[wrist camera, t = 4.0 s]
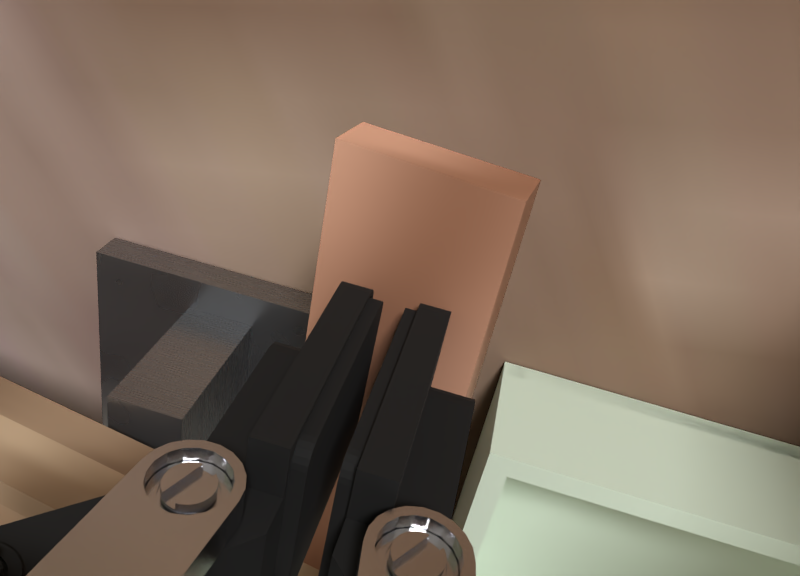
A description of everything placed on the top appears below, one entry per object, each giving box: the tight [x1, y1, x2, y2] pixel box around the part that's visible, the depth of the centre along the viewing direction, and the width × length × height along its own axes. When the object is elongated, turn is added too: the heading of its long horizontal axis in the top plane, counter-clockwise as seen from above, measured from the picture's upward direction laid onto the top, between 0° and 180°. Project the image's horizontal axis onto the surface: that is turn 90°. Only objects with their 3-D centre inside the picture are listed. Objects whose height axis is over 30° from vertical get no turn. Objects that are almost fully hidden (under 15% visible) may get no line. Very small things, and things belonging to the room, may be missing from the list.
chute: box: [0, 122, 541, 576], centre depth 16 cm, size 16×18×4 cm
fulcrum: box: [96, 238, 312, 449], centre depth 23 cm, size 8×12×5 cm, turn 168°
